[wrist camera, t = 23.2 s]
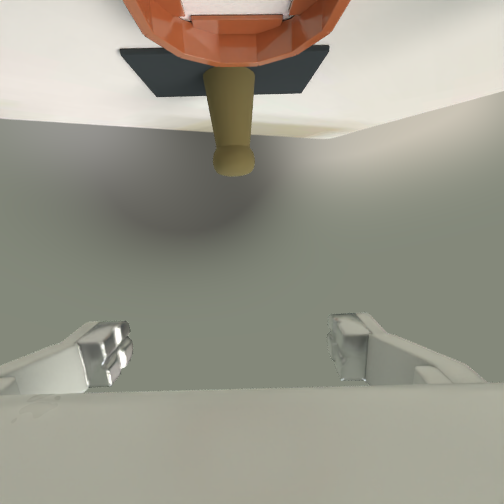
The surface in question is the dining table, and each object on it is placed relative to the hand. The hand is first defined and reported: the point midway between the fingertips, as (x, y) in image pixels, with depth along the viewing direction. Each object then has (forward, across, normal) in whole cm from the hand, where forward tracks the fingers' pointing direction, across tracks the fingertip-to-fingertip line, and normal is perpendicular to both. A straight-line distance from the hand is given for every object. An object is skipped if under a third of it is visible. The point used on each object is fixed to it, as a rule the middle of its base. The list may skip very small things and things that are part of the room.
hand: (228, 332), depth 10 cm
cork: (+24, +1, -19) cm, 30 cm away
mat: (+24, +1, -19) cm, 31 cm away
